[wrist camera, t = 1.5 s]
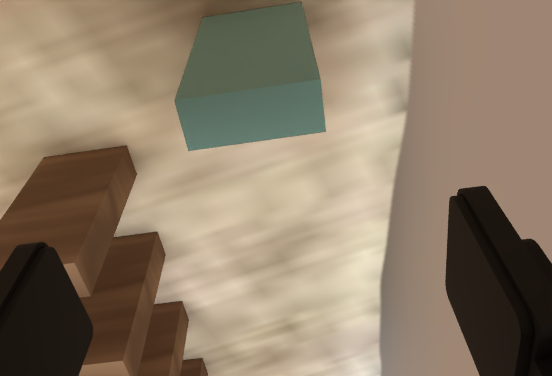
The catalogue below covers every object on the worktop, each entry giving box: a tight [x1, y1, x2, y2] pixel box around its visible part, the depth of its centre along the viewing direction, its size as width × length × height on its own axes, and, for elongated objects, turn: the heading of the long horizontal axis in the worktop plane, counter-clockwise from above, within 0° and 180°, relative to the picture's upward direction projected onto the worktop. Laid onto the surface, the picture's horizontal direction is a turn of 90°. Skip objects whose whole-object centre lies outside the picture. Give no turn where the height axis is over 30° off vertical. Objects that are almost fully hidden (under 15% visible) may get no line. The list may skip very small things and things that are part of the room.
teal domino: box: [174, 2, 326, 151], centre depth 22 cm, size 2×5×10 cm, turn 98°
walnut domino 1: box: [0, 146, 137, 298], centre depth 26 cm, size 2×5×10 cm, turn 98°
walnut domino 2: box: [79, 232, 165, 376], centre depth 30 cm, size 2×5×10 cm, turn 99°
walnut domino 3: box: [137, 301, 189, 376], centre depth 33 cm, size 2×5×10 cm, turn 98°
